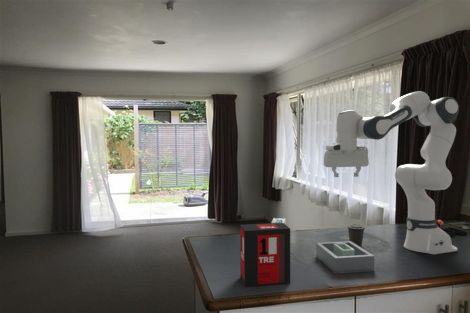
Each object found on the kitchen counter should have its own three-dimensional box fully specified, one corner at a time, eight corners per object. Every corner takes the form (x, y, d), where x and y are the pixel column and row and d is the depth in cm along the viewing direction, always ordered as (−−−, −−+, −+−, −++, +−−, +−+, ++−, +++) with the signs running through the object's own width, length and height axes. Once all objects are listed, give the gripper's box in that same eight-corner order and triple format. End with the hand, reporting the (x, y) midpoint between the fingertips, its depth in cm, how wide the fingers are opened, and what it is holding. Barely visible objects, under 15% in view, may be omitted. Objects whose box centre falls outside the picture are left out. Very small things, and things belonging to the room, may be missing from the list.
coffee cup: (356, 242, 177) (356, 222, 176) (368, 247, 170) (368, 226, 169) (343, 245, 173) (343, 224, 173) (355, 249, 166) (355, 228, 166)
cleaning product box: (245, 287, 126) (244, 230, 125) (240, 277, 135) (240, 224, 133) (290, 283, 128) (290, 228, 127) (283, 274, 137) (282, 222, 136)
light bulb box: (284, 244, 175) (284, 223, 174) (271, 244, 176) (271, 222, 175) (286, 238, 185) (286, 218, 184) (273, 238, 186) (273, 217, 186)
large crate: (350, 254, 159) (350, 241, 159) (374, 271, 140) (374, 255, 139) (316, 256, 157) (316, 242, 157) (335, 273, 137) (335, 258, 137)
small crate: (344, 257, 153) (344, 243, 153) (354, 264, 144) (354, 249, 144) (333, 257, 152) (333, 243, 152) (342, 265, 144) (342, 250, 143)
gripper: (364, 145, 166) (364, 175, 167) (322, 146, 164) (322, 176, 164) (371, 146, 160) (371, 177, 161) (327, 146, 157) (327, 178, 158)
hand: (346, 176), depth 163 cm, fingers open, 8 cm apart
